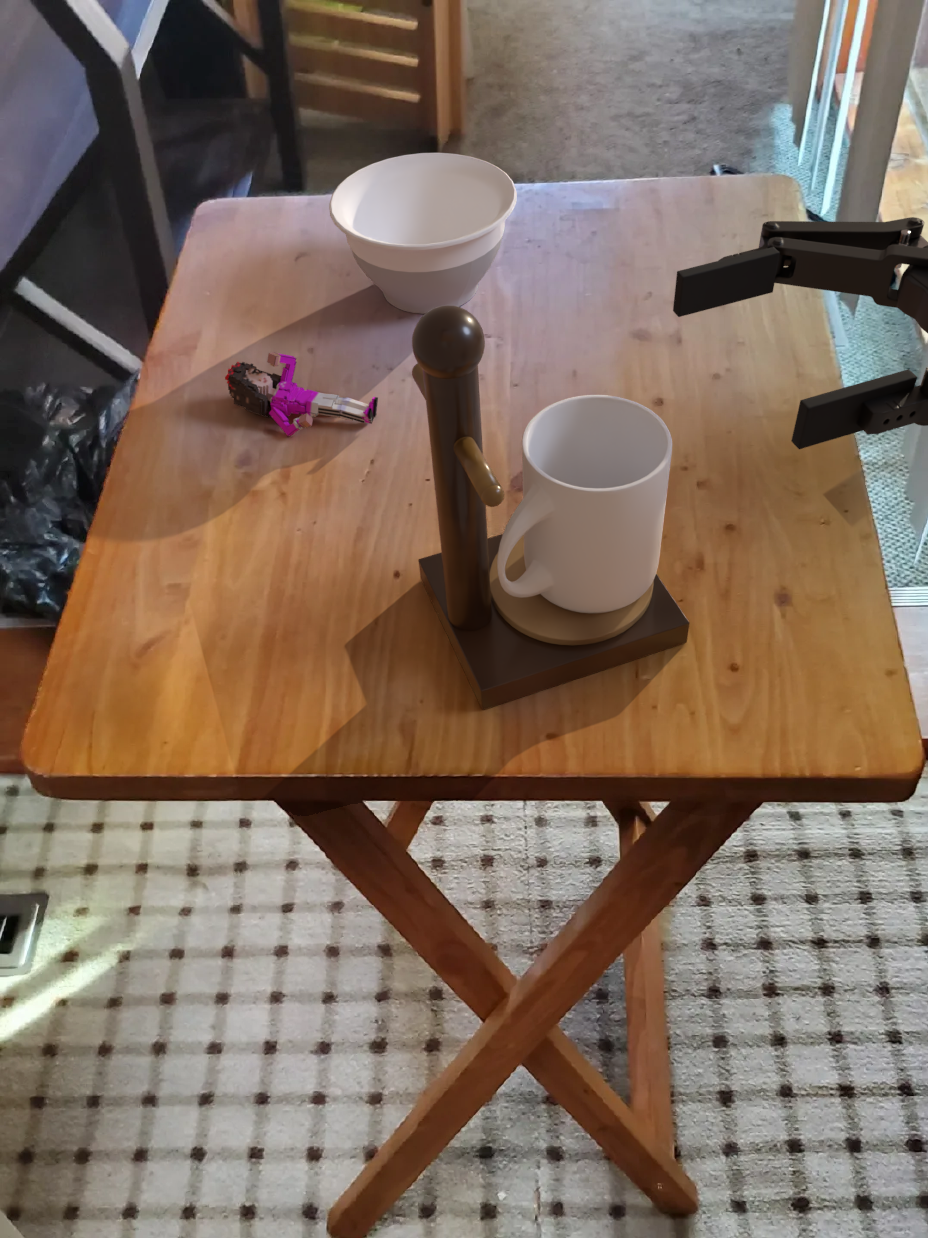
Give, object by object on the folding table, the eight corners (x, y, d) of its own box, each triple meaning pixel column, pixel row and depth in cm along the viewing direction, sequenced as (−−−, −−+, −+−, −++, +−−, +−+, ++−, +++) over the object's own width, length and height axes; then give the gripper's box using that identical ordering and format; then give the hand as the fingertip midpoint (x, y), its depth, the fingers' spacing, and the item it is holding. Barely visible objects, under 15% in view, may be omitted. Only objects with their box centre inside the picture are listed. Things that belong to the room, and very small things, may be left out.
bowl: (384, 229, 104) (374, 142, 98) (541, 252, 100) (541, 163, 94) (313, 321, 95) (296, 231, 88) (483, 351, 90) (479, 259, 84)
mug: (457, 590, 69) (445, 464, 61) (593, 504, 74) (599, 375, 66) (546, 669, 65) (546, 544, 57) (685, 572, 69) (704, 443, 61)
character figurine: (382, 409, 88) (240, 383, 89) (382, 359, 84) (233, 332, 85) (364, 456, 84) (217, 428, 85) (363, 406, 80) (208, 378, 81)
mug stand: (606, 521, 76) (626, 196, 58) (687, 644, 69) (740, 314, 50) (415, 579, 74) (373, 258, 55) (478, 713, 66) (453, 392, 48)
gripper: (1180, 440, 60) (845, 546, 56) (907, 230, 75) (632, 301, 71) (1246, 322, 54) (880, 432, 50) (937, 122, 70) (640, 193, 66)
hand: (733, 355), depth 61 cm, fingers open, 13 cm apart
